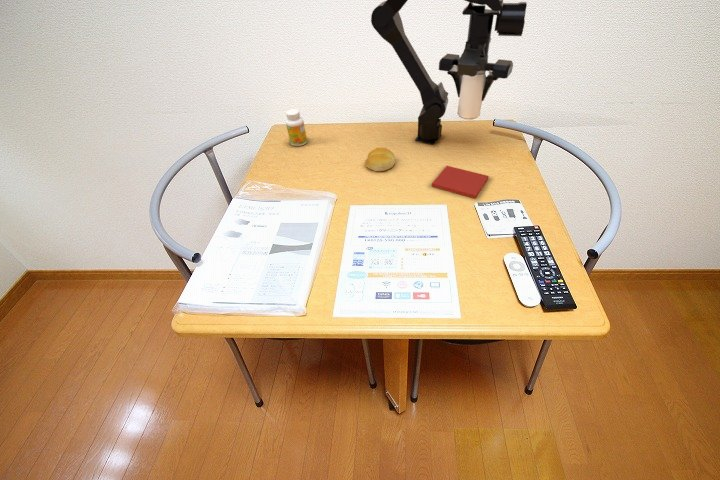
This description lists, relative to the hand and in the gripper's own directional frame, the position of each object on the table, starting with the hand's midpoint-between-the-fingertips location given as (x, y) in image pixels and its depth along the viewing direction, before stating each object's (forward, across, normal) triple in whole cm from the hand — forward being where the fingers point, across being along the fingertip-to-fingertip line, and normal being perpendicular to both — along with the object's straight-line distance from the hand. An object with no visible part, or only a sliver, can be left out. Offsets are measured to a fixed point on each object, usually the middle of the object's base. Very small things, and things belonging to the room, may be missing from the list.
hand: (470, 98), depth 103 cm
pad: (+13, +6, -22) cm, 27 cm away
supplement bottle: (+13, -48, -21) cm, 54 cm away
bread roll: (+13, -18, -22) cm, 32 cm away
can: (+5, 0, 0) cm, 5 cm away
